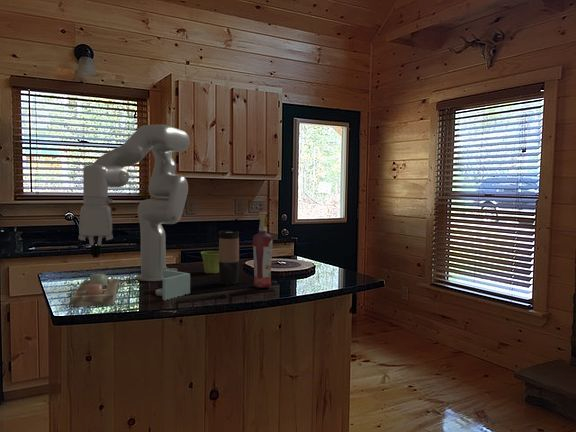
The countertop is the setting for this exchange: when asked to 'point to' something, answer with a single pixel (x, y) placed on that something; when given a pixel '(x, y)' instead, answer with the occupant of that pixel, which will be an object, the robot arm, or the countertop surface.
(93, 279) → the pale green egg
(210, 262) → the plant pot
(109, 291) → the wooden rectangular frame
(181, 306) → the countertop surface
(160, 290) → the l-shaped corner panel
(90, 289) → the brown egg
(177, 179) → the robot arm
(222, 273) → the travel mug
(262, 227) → the liquor
